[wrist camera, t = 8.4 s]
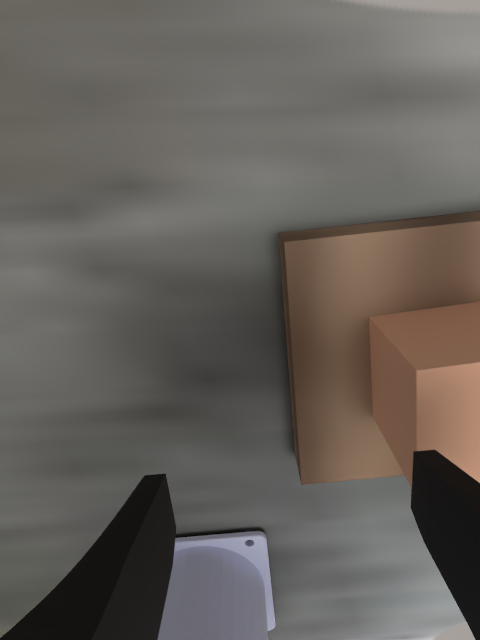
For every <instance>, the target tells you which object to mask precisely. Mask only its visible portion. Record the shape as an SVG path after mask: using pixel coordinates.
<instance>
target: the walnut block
mask: <svg viewBox="0 0 480 640" xmlns="http://www.w3.org/2000/svg"><path fill="white" fill-rule="evenodd" d="M278 234H279V247H280V261H281V274H282V287H283V300H284V314H285V327H286V340H287V354H288V367H289V380H290V394H291V407H292V420H293V434H294V447H295V456H296V460H297V465H298V470H299V475H300V480H301V484H302V485H305V484H315V483H326V482H337V481H348V480H358V479H369V478H380V477H391V476H401V475H404V473H403V471H402V469H401V467H400V465H399V464H398V462H397V460H396V458H395V456H394V455H393V453H392V451H391V449H390V447H389V445H388V444H387V442H386V440H385V438H384V436H383V435H382V433H381V431H380V429H379V427H378V425H377V424H376V422H375V420H374V418H373V402H372V378H371V354H370V331H369V317H372V316H379V315H387V314H394V313H401V312H408V311H416V310H423V309H430V308H437V307H444V306H452V305H459V304H466V303H473V302H480V211H476V212H467V213H458V214H449V215H440V216H430V217H421V218H412V219H403V220H394V221H385V222H375V223H366V224H357V225H348V226H339V227H329V228H320V229H311V230H302V231H293V232H284V233H278Z"/></svg>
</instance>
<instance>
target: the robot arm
mask: <svg viewBox="0 0 480 640" xmlns="http://www.w3.org/2000/svg"><path fill="white" fill-rule="evenodd" d="M411 509H412V512H413V515H414V517H415V520H416V522H417V525H418V528H419V530H420V533H421V535H422V538H423V540H424V542H425V544H426V546H427V548H428V550H429V552H430V554H431V556H432V558H433V560H434V562H435V564H436V565H437V567H438V569H439V571H440V573H441V575H442V577H443V579H444V580H445V582H446V584H447V586H448V588H449V590H450V592H451V594H452V595H453V597H454V599H455V601H456V603H457V605H458V607H459V608H460V610H461V612H462V614H463V616H464V618H465V620H466V621H467V623H468V625H469V627H470V629H471V631H472V633H473V635H474V637H475V639H476V640H480V483H479V482H478V481H476V480H475V479H474V478H472V477H471V476H470V475H468V474H467V473H466V472H464V471H463V470H462V469H460V468H459V467H458V466H456V465H455V464H454V463H452V462H451V461H450V460H448V459H447V458H446V457H444V456H443V455H442V454H440V453H439V452H438V451H436V450H425V451H413V472H412V494H411ZM175 536H176V525H175V519H174V514H173V509H172V504H171V499H170V494H169V489H168V484H167V479H166V474H157V475H145V476H144V477H143V478H142V480H141V481H140V482H139V484H138V485H137V487H136V488H135V490H134V491H133V492H132V494H131V495H130V497H129V498H128V500H127V501H126V502H125V504H124V505H123V507H122V508H121V509H120V511H119V512H118V513H117V515H116V516H115V517H114V519H113V520H112V521H111V523H110V524H109V525H108V527H107V528H106V529H105V531H104V532H103V533H102V535H101V536H100V537H99V538H98V540H97V541H96V542H95V543H94V544H93V546H92V547H91V548H90V549H89V550H88V552H87V553H86V554H85V555H84V556H83V558H82V559H81V560H80V561H79V562H78V563H77V565H76V566H75V567H74V568H73V569H72V570H71V571H70V572H69V573H68V575H67V576H66V577H65V578H64V579H63V580H62V581H61V582H60V583H59V584H58V585H57V586H56V587H55V588H54V589H53V590H52V591H51V592H50V593H49V594H48V595H47V596H46V597H45V598H44V599H43V600H42V601H41V602H40V603H39V604H38V605H37V606H36V607H35V608H34V609H32V610H31V611H30V612H29V613H28V614H27V615H26V616H25V617H24V618H23V619H22V620H20V621H19V622H18V623H17V624H16V625H15V626H14V627H13V628H12V629H11V630H9V631H8V632H7V633H6V634H5V635H3V636H2V637H1V638H0V640H268V631H270V630H272V629H274V627H275V616H274V606H273V596H272V587H271V577H270V568H269V558H268V548H267V539H266V535H265V534H264V533H263V532H261V531H251V532H239V533H227V534H216V535H204V536H192V537H181V538H175ZM247 540H252V541H247Z"/></svg>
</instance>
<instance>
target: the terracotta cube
mask: <svg viewBox="0 0 480 640" xmlns="http://www.w3.org/2000/svg"><path fill="white" fill-rule="evenodd" d="M369 331H370V354H371V378H372V402H373V418H374V420H375V422H376V424H377V425H378V427H379V429H380V431H381V433H382V435H383V436H384V438H385V440H386V442H387V444H388V445H389V447H390V449H391V451H392V453H393V455H394V456H395V458H396V460H397V462H398V464H399V465H400V467H401V469H402V471H403V473H404V475H405V476H406V478H407V480H408V482H409V484H410V486H411V487H412V472H413V451H425V450H436V451H438V452H439V453H440V454H442V455H443V456H444V457H446V458H447V459H448V460H450V461H451V462H452V463H454V464H455V465H456V466H458V467H459V468H460V469H462V470H463V471H464V472H466V473H467V474H468V475H470V476H471V477H472V478H474V479H475V480H476V481H478V482H479V483H480V302H473V303H466V304H459V305H452V306H444V307H437V308H430V309H423V310H416V311H408V312H401V313H394V314H387V315H379V316H372V317H369Z"/></svg>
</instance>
